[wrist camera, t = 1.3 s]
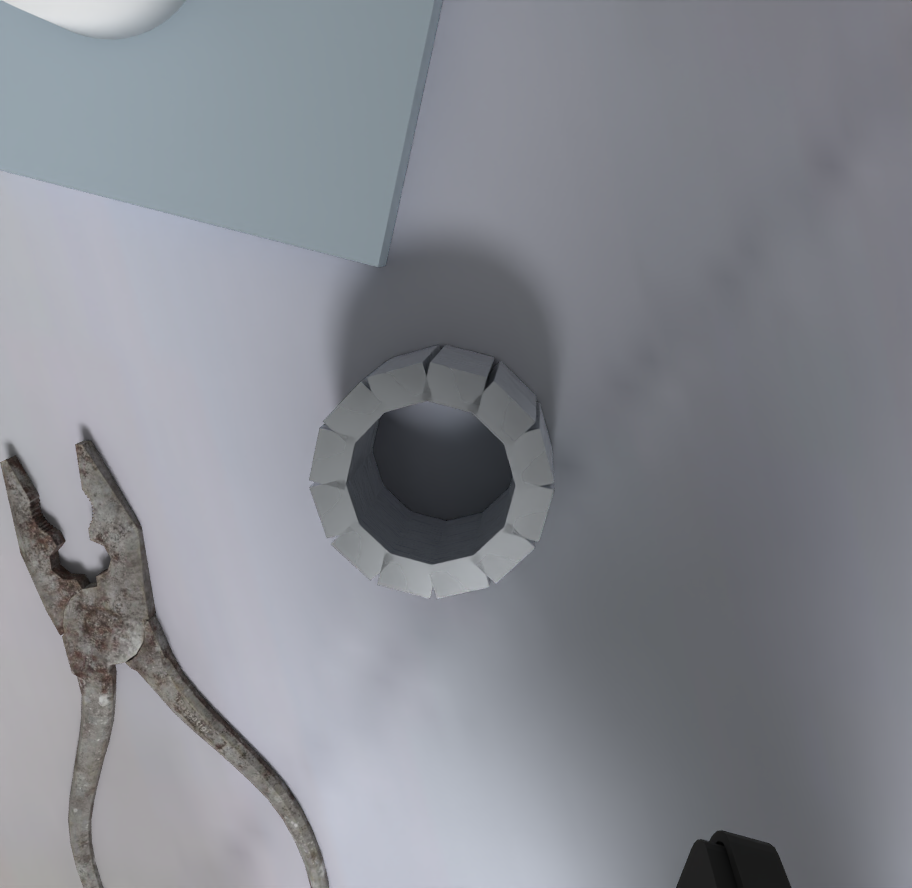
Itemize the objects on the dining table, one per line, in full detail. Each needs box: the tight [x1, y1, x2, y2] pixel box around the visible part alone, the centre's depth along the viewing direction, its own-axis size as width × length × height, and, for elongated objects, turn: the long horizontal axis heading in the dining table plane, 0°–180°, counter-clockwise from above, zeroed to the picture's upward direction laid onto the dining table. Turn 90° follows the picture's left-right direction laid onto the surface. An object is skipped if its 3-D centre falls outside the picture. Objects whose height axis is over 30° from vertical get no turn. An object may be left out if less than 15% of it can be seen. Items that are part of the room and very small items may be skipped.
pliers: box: [0, 441, 329, 888], centre depth 28 cm, size 10×1×20 cm
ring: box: [309, 345, 554, 599], centre depth 23 cm, size 6×6×4 cm
